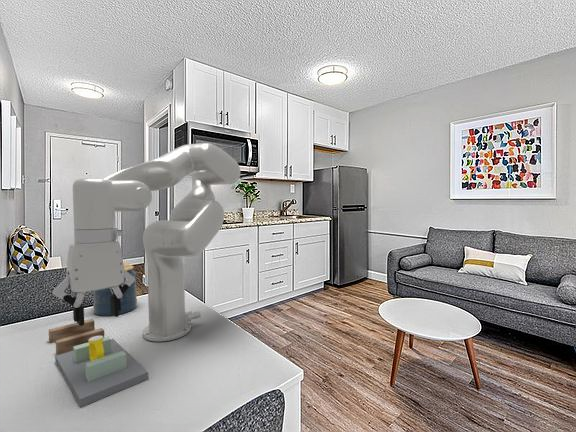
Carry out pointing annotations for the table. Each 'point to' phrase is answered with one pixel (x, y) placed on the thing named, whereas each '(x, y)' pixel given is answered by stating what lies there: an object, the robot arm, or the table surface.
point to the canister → (127, 299)
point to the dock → (100, 383)
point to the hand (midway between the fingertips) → (98, 318)
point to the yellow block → (96, 348)
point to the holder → (73, 335)
